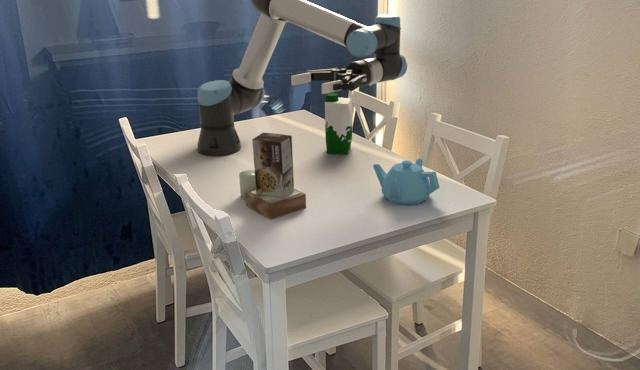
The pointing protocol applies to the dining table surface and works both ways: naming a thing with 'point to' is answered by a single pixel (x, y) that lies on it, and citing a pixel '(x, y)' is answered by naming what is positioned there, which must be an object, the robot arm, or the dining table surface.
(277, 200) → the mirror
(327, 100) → the milk carton
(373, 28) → the robot arm
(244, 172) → the sage rounded cylinder
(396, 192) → the teapot
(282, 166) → the coffee box
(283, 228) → the dining table surface
